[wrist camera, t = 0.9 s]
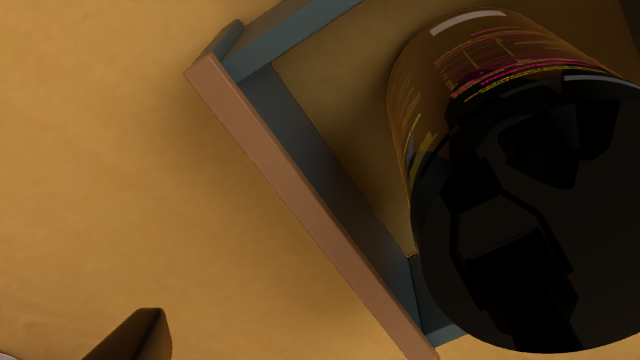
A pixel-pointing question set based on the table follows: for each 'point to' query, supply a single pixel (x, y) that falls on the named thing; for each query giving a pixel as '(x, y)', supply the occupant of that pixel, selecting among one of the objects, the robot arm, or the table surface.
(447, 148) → the supplement container
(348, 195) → the crate
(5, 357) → the charger
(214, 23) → the table surface
